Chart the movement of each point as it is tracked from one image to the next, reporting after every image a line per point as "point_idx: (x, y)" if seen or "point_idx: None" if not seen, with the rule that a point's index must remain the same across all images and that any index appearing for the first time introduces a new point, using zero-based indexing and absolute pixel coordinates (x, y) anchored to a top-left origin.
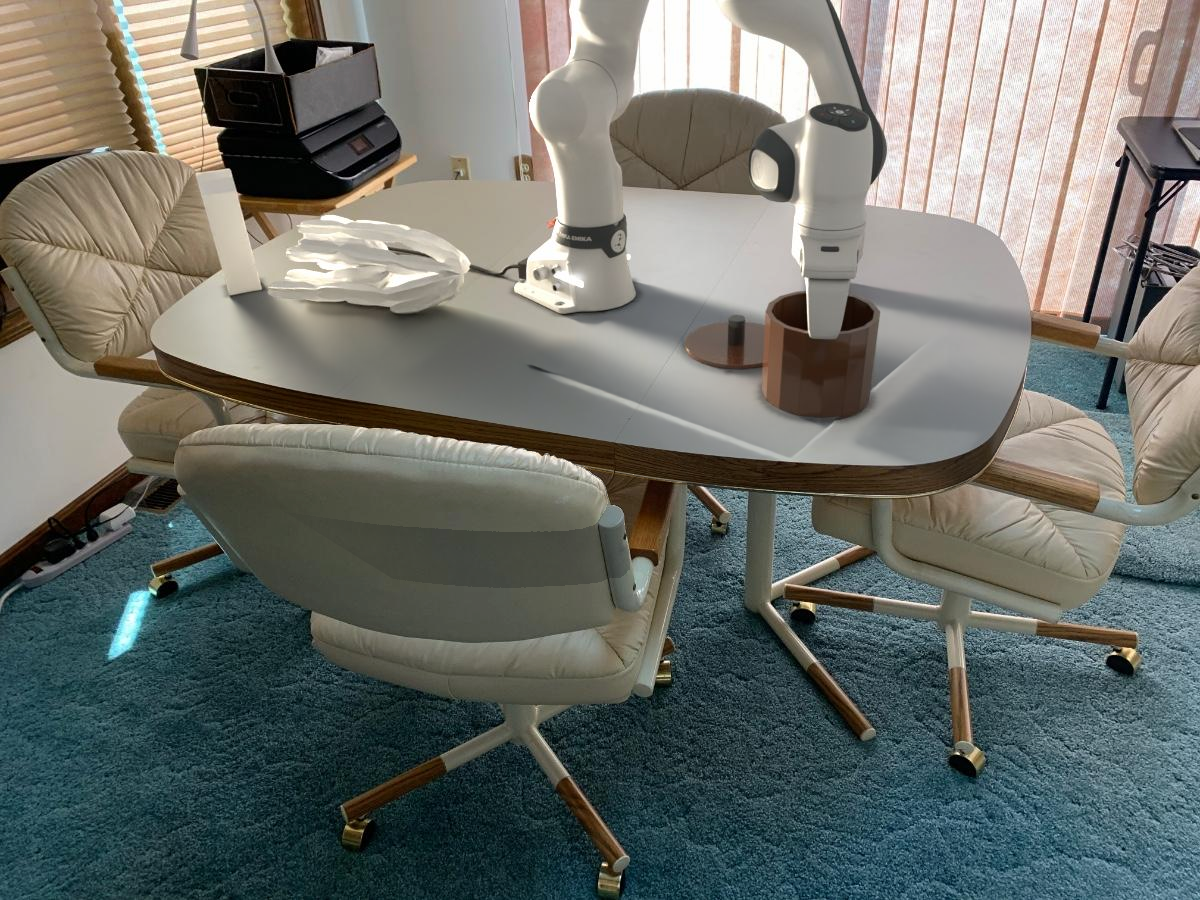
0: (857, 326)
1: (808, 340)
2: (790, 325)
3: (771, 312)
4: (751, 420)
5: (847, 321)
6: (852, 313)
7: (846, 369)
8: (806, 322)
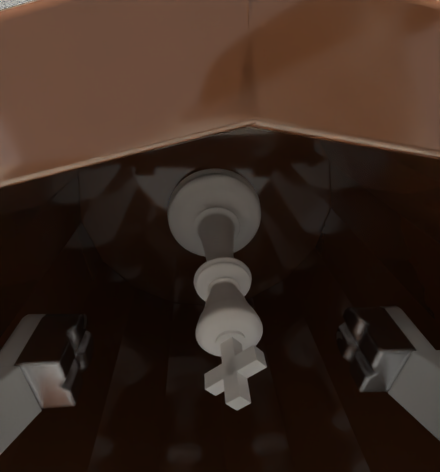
0: (316, 423)
1: None
2: (425, 210)
3: (172, 124)
4: (4, 5)
5: (358, 407)
6: (365, 456)
7: None
8: (430, 278)
